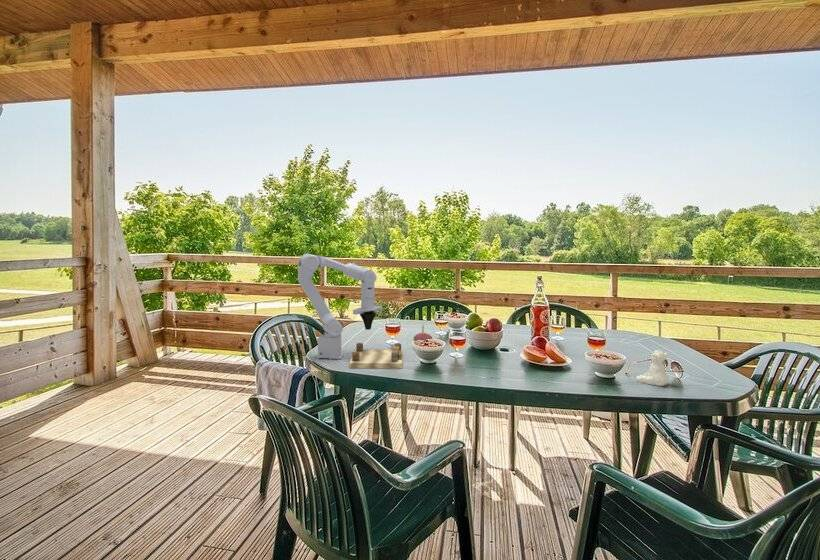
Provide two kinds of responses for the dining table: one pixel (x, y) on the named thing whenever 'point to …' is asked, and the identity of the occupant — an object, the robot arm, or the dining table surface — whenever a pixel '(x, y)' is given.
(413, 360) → the dining table surface
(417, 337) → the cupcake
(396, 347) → the folding leg
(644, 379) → the seated beast figurine
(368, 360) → the stool seat
